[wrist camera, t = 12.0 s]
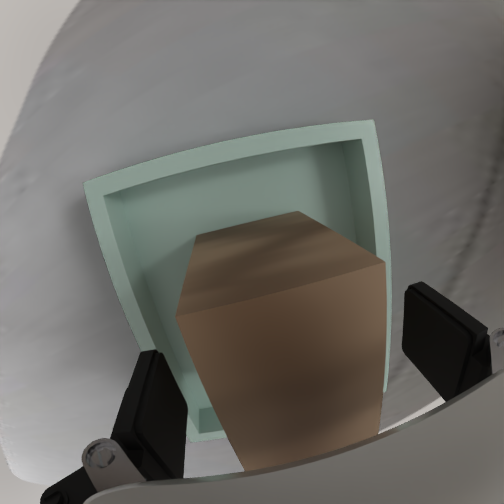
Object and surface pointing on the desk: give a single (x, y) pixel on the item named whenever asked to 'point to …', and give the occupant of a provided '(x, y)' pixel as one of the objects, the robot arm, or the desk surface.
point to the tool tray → (229, 223)
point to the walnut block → (286, 336)
